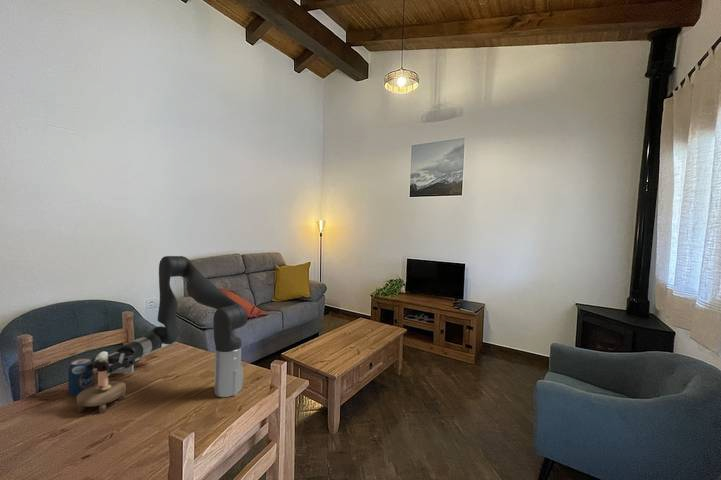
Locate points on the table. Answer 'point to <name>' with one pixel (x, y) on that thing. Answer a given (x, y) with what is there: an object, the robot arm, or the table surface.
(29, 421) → the table surface
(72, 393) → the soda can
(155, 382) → the table surface
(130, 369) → the cassette
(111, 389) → the beige footstool
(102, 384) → the grandmother figurine
